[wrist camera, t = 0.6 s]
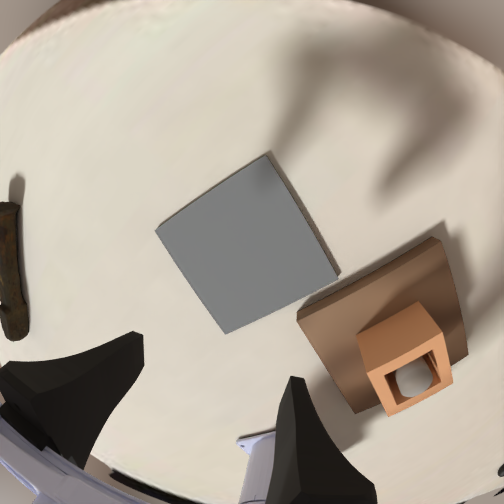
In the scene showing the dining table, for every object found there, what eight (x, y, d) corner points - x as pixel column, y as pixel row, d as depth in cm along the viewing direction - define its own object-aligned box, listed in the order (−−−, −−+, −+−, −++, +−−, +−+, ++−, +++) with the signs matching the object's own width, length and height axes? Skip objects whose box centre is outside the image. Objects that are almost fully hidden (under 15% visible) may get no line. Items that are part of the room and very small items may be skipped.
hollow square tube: (433, 349, 19) (453, 382, 14) (377, 379, 20) (388, 416, 16) (418, 300, 18) (442, 331, 14) (355, 335, 19) (366, 373, 15)
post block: (462, 346, 20) (491, 387, 14) (353, 403, 23) (360, 455, 17) (432, 236, 18) (477, 263, 12) (297, 311, 21) (294, 364, 15)
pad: (338, 277, 20) (338, 279, 20) (226, 332, 23) (225, 334, 22) (266, 155, 18) (265, 155, 18) (156, 229, 21) (154, 230, 21)
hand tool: (8, 197, 24) (-20, 204, 19) (23, 203, 23) (-7, 211, 19) (19, 324, 30) (-1, 338, 25) (35, 336, 29) (14, 351, 25)
